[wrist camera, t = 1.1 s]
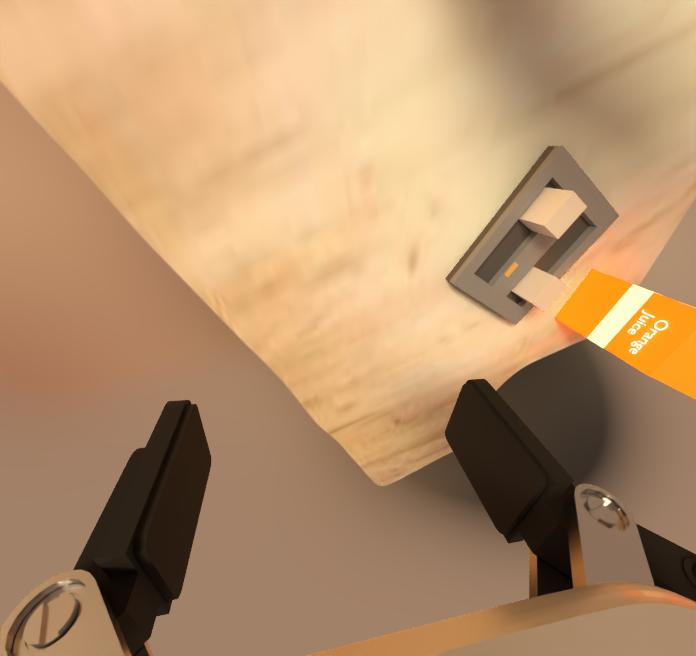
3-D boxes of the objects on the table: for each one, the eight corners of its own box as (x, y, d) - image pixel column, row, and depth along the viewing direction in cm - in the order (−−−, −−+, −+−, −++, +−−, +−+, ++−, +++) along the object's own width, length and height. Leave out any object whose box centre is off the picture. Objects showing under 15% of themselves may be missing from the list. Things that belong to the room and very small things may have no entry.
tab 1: (542, 186, 33) (573, 191, 30) (555, 201, 35) (587, 206, 31) (517, 218, 35) (543, 225, 31) (530, 230, 36) (558, 239, 32)
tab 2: (530, 265, 39) (556, 276, 35) (542, 275, 40) (568, 287, 36) (509, 289, 40) (531, 302, 37) (521, 298, 41) (544, 312, 38)
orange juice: (623, 281, 45) (823, 356, 28) (584, 327, 49) (740, 418, 32) (591, 268, 43) (790, 342, 26) (553, 318, 46) (704, 411, 30)
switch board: (548, 146, 32) (563, 146, 30) (604, 213, 38) (620, 216, 36) (445, 278, 39) (453, 284, 37) (507, 318, 44) (516, 325, 43)
